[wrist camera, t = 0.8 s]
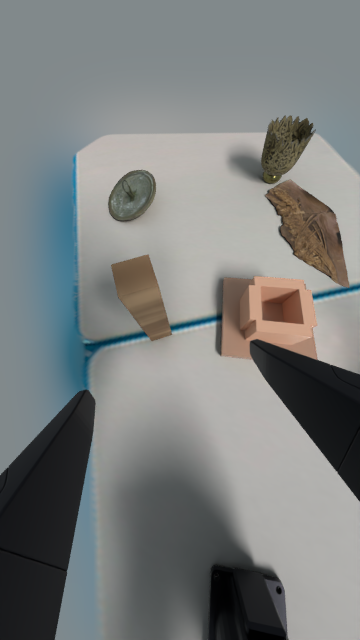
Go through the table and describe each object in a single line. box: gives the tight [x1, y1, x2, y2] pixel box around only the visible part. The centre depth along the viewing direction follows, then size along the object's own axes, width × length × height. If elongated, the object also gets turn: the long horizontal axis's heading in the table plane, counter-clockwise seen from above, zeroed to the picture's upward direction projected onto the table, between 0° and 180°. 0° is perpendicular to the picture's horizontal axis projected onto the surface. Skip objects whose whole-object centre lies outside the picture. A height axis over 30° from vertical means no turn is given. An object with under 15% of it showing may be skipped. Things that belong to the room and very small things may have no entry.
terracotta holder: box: [221, 276, 318, 360], centre depth 23 cm, size 12×12×5 cm
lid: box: [109, 170, 156, 221], centre depth 32 cm, size 11×10×5 cm
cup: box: [261, 116, 315, 183], centre depth 32 cm, size 8×7×8 cm
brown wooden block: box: [111, 255, 172, 341], centre depth 19 cm, size 3×3×13 cm
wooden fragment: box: [265, 180, 349, 288], centre depth 31 cm, size 26×11×1 cm, turn 5°
